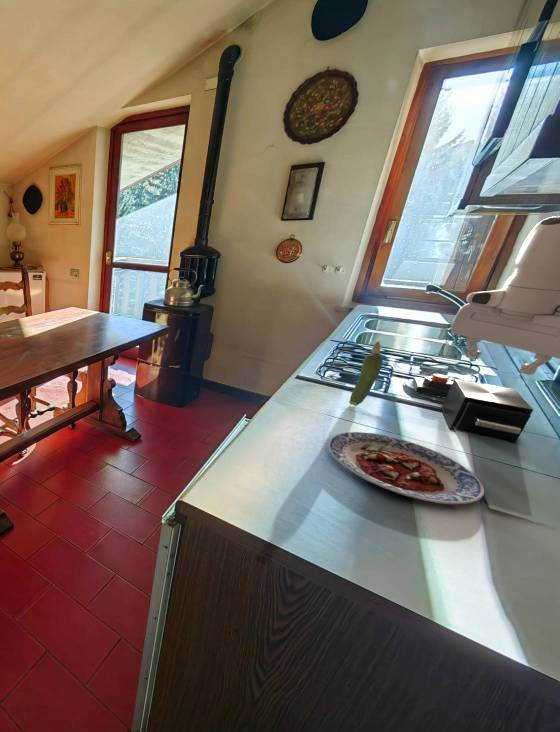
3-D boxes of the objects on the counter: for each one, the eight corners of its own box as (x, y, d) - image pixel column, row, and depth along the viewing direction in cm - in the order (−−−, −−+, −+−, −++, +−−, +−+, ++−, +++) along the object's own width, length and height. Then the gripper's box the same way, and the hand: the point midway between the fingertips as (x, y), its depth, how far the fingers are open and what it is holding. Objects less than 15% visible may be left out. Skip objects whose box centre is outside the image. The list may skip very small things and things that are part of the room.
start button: (445, 380, 123) (447, 375, 122) (447, 384, 120) (449, 378, 119) (430, 377, 125) (432, 372, 124) (431, 381, 122) (434, 376, 121)
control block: (452, 390, 125) (457, 378, 123) (458, 401, 118) (464, 389, 116) (411, 382, 130) (416, 371, 129) (415, 392, 123) (420, 381, 121)
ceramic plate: (513, 527, 70) (521, 514, 69) (345, 493, 78) (349, 481, 77) (438, 451, 92) (444, 441, 91) (313, 431, 100) (317, 421, 99)
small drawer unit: (520, 452, 90) (537, 423, 87) (459, 438, 96) (473, 410, 93) (499, 422, 104) (513, 396, 101) (446, 411, 109) (458, 386, 106)
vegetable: (354, 401, 117) (378, 337, 108) (369, 408, 113) (395, 342, 105) (344, 403, 115) (366, 339, 107) (358, 410, 111) (383, 343, 103)
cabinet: (513, 444, 95) (533, 409, 92) (449, 429, 102) (465, 396, 98) (497, 421, 106) (515, 389, 102) (440, 409, 113) (454, 378, 109)
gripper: (618, 312, 70) (576, 382, 75) (481, 291, 88) (455, 349, 94) (593, 313, 68) (552, 385, 74) (459, 292, 87) (435, 351, 92)
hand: (497, 365), depth 84 cm, fingers open, 8 cm apart
